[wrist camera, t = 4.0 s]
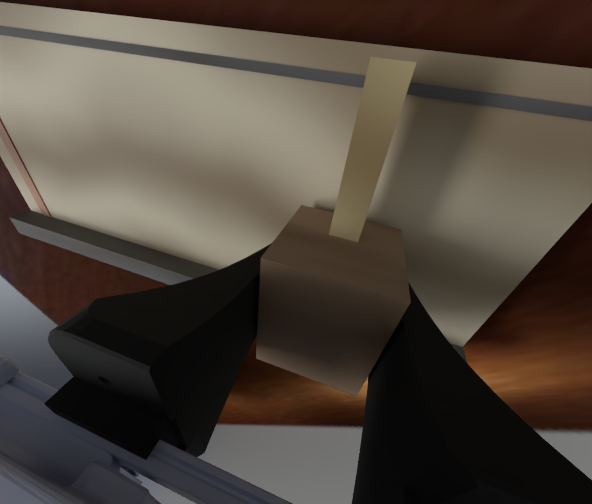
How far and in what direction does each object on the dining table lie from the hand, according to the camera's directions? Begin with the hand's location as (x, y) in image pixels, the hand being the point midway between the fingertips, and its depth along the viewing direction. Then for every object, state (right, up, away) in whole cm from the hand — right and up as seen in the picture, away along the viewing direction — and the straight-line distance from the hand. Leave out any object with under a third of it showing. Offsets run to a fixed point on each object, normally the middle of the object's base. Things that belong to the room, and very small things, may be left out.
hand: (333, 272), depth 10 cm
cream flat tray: (-6, +5, +2) cm, 8 cm away
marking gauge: (0, +2, -1) cm, 2 cm away
